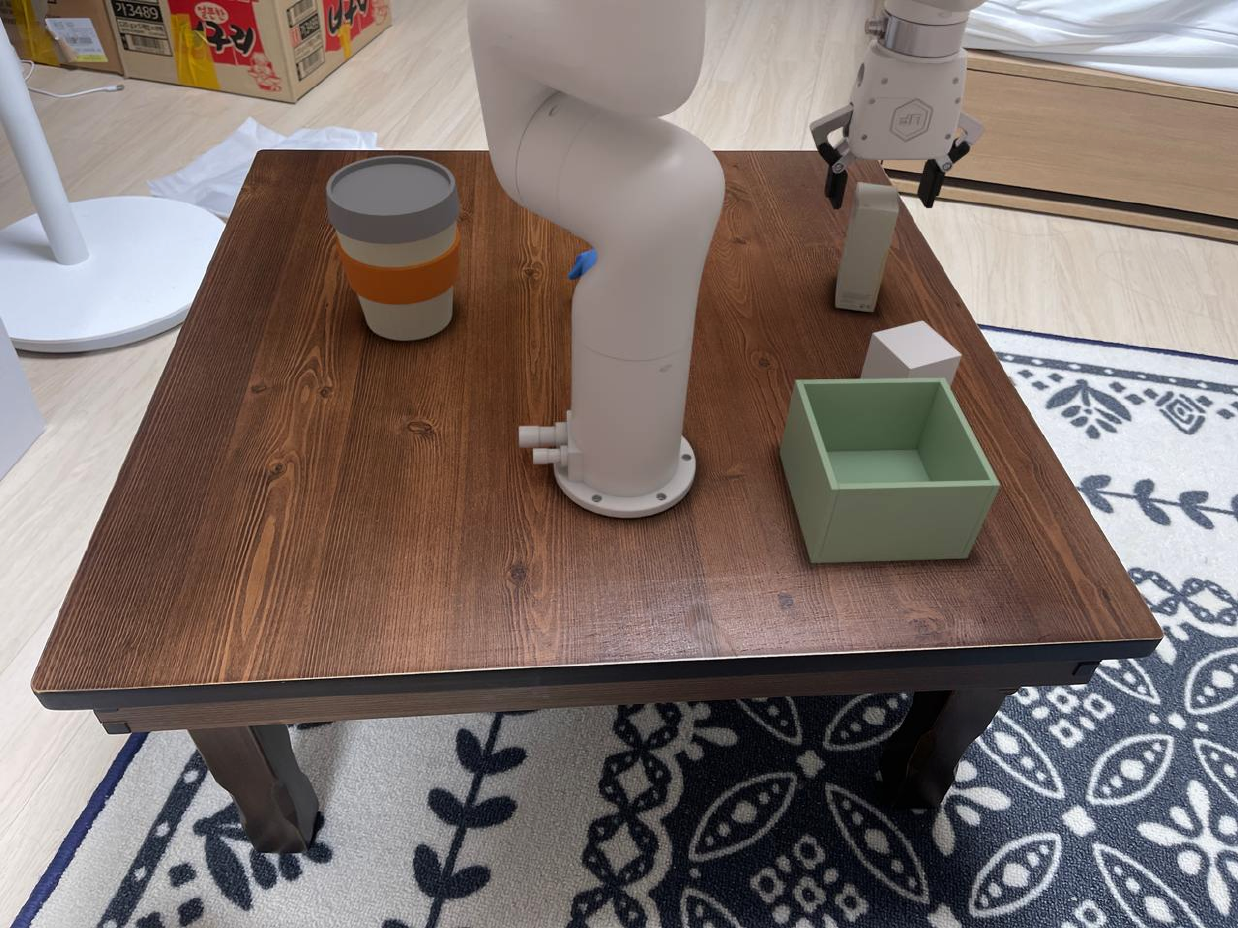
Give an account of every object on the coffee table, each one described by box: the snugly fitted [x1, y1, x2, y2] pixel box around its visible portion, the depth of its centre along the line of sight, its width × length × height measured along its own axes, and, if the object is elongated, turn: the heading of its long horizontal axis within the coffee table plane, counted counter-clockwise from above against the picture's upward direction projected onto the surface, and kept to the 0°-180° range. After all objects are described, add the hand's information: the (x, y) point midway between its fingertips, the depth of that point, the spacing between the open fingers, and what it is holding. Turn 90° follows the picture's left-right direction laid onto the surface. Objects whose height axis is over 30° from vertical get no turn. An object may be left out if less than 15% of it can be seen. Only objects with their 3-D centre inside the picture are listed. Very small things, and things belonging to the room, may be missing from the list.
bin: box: [779, 378, 1001, 564], centre depth 78 cm, size 13×13×9 cm
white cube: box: [859, 320, 963, 388], centre depth 91 cm, size 6×6×6 cm
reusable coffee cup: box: [325, 154, 461, 342], centre depth 94 cm, size 13×13×15 cm
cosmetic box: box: [834, 181, 900, 313], centre depth 101 cm, size 6×4×12 cm
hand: (879, 202), depth 97 cm, fingers open, 9 cm apart
